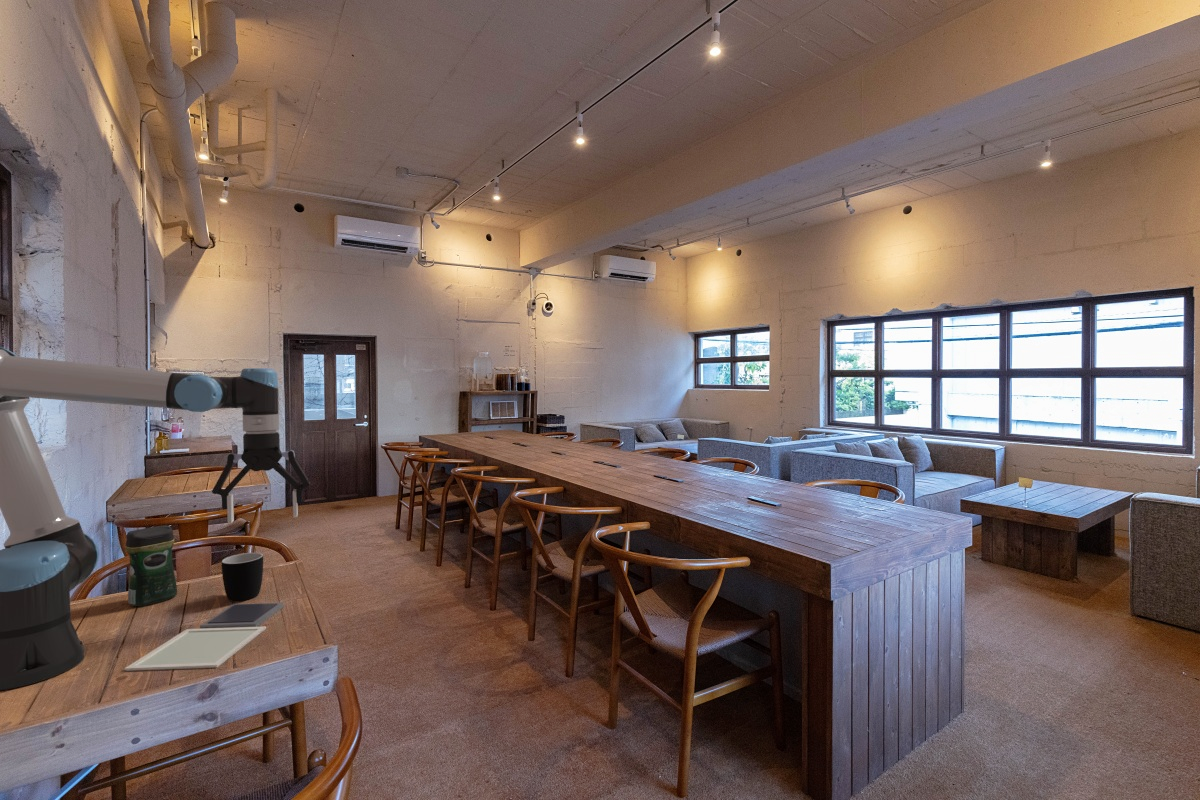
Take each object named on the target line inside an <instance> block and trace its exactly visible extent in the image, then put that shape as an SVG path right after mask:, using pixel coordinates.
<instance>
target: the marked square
mask: <svg viewBox="0 0 1200 800" xmlns="http://www.w3.org/2000/svg"><path fill="white" fill-rule="evenodd" d="M266 629H267V626H265V625H263V626H258V627H234V628H204V629H200V628H186V629H184V630H182V632H180V633H178V634H176V635H175V636H173V637H172V638H170V639H169V640H167V641H165V642H164V643H163V644H160V645H159V646H158V647H156V648H155V649H152V650H151V651H150V652H148V653H146V654H145V655H144V656H141V657H140V658H138V659H137V660H136V661H135V662H132V663H131V664H129V665H128V666H126V667H124V671H125V672H132V671H156V670H157V671H159V670H161V671H162V670H163V671H164V670H184V669H185V670H186V669H187V670H188V669H189V670H190V669H213V668H219V667H220V666H222V665H223V664H224V663H225V662H226V661H228V660H229V659H230V658H231V657H232V656H234V655H235V654H236V653H237V652H238V651H240V650H242V649H243V647H245V646H246V645H248V643H250V642H251V641H252V640H254V639H255V638H256V637H258V636H259V635H260V634H261V633H263V632H264V631H265V630H266Z"/></svg>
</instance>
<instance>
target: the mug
mask: <svg viewBox="0 0 1200 800" xmlns="http://www.w3.org/2000/svg"><path fill="white" fill-rule="evenodd" d="M263 573H264V554H263V553H260V552H247V553H246V552H245V553H237V554H234V555H231V556H227V557H225V558H224V559H222V561H221V574H222V575H221V576H222V582H223V587H224V588H223V589H224V592H225V595H226V597H227V599H228V600H229V601H230V602H234V603H236V602H245V601H249V600H253V599H254V598H257V596H259V594H260V592H261V589H262V583H263V575H264V574H263Z"/></svg>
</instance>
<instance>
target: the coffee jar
mask: <svg viewBox="0 0 1200 800" xmlns="http://www.w3.org/2000/svg"><path fill="white" fill-rule="evenodd" d="M125 538H126V542H125V546H124V547H125V550H126V552H127V554H128V556H129V580H128V591H127V594H128V595H127V601H128V604H129V605H130V606H132V607H144V606H149V605H153V604H156V603H161V602H164V601H167V600H170V599H172V598H174V597H176V595H178V585H177V580H176V575H175V570H174V569H175V568H174V562H173V554H172V552H173V546H174V545H175V536H174V531H173V529H172V527H171V526H169V525H165V524H163V525H157V526H152V527H145V528H139V529H135V530H130V531H128V532H127V533H126V537H125Z"/></svg>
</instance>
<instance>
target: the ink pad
mask: <svg viewBox="0 0 1200 800" xmlns="http://www.w3.org/2000/svg"><path fill="white" fill-rule="evenodd" d="M284 606H285V603H284V602H263V603H261V602H260V603H259V602H258V603H257V602H255V603H232V604H231V605H230V606H228V607H226V608H224V610H222V611H220V612H219V613H217V614H216V615H214V616H212V617H211V618H210V619H207V620H206V621H205V622H203V623H202V624H200V625H199V629H204V628H234V627H260V626H261V625H262V624H263V623H264V622H266V621H267V620H269V619H270V618H271V617H272V616H274V615H275V614H276V613H277V612H279V611H280V610H281V609H282V608H284Z"/></svg>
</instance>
